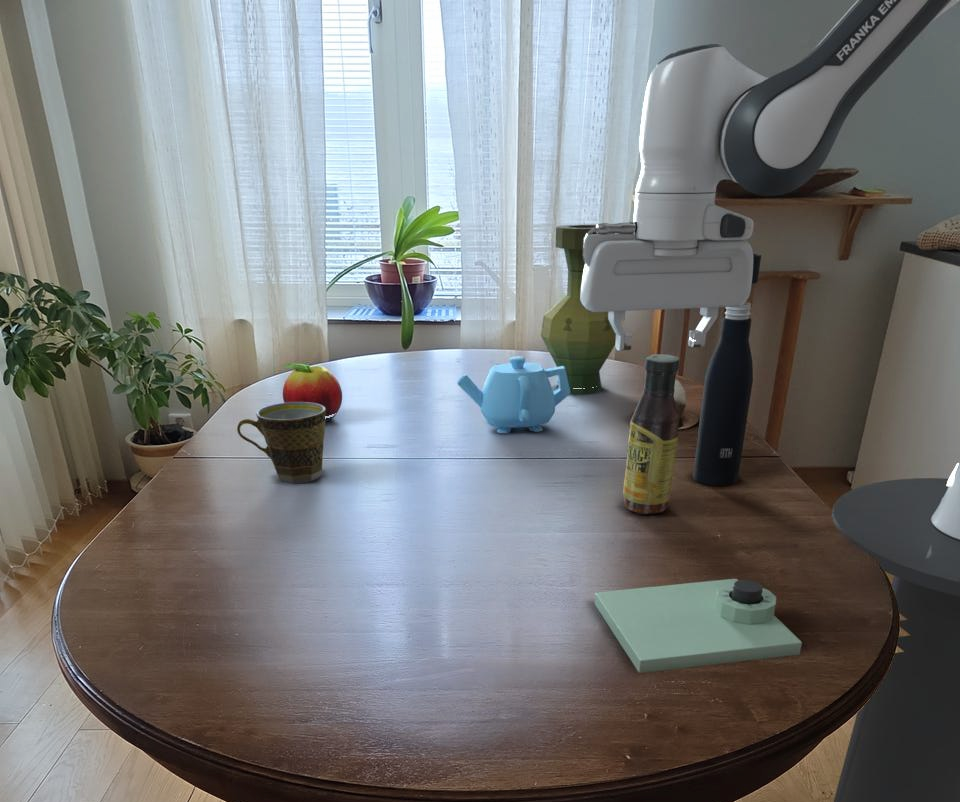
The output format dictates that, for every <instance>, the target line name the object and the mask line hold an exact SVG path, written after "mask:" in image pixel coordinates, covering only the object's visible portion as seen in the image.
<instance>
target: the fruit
mask: <svg viewBox="0 0 960 802" xmlns="http://www.w3.org/2000/svg"><path fill="white" fill-rule="evenodd" d="M283 368H285V369H286V368H287V369H288V368H291V369H293V370H292V372H290V374H289V375H288V377H287V378H286V380H285V381H284V384H283V388H282V399H283V403H289V402H310V403H316V404H320V405H322V406H324V407H325V410H326V416H329V415H332V414H335V413H337V412H339V410H340V408H341V406H342V402H343V391H342V387H341V384H340V383H339V380H338V379H337V378H336V376H335V375H334V374H333V373H332V372H331V371H330V370H329V369H327V367H324V366H320V365H319V366H318V365H316V366H314V365H313V366H310V364H303V363H293V362H291V363H288V364H285V365H283ZM337 414H338V413H337ZM334 418H335V416H333V417H330V418H326V419H325V423H326V422H329V421H330V420H332V419H334Z"/></svg>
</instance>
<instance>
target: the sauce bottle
mask: <svg viewBox="0 0 960 802" xmlns="http://www.w3.org/2000/svg"><path fill="white" fill-rule="evenodd" d="M679 368H680V358H679V357H678V356H675V355H672V354H661V353H660V354H659V353H658V354H651V355H648V356H647V357H646V358H645V364H644V370H645V378H644V386H643V389H642V390H643V392H642V394H641V396H640V399H639V401H638V403H637V405H636V408H635V410H634V411H635V412H634V411H633V412H634V414H633V417H632V419H630V423H629V432H628V443H627V451H626V452H627V454H626V460H625V472H624V480H623V489H622V490H623V492H622V493H623V494H622V495H623V506H624V508H625V509H626V510H628V511H631V512H633V513H636V514H638V515H654V514H660V513H662V512H665V511H666V510H667V509H668V507H669V500H670V498H671V491H672V484H673V478H674V469H675V462H676V455H677V448H678V440H679V429H678V427H679V420H680V412H679V409H678V406H677V404H676V402H675V400H674V391H675V389H674V386H675V379H677V378H676V377H677V373H678V370H679Z"/></svg>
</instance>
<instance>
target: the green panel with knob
mask: <svg viewBox="0 0 960 802" xmlns="http://www.w3.org/2000/svg"><path fill="white" fill-rule="evenodd" d="M736 581H739V579H737V578H728V579H727V578H726V579H715V580H706V581H697V582H696V581H695V582H687V583H677V584H667V585H658V586H648V587H639V588H638V587H635V588H628V589H618V590H607V591H606V590H605V591H599V592H598V591H596V592H594V601H593V603H594V606H595V607H596V609H597V610H598V612H599V613H600V615H601V616H602V618H603V620H604V621H605V623H606V624H607V626H608V627H609V629H610V630H611V632H612V633H613V635H614V637H615V638H616V640H617V641H618V643H619V645H620V646H621V647H622V649H623V650H624V652H625V654H626V655H627V657H628V658H629V660H630V661H631V663H632V664H633V666H634V667H635V669H636V671H637V672H638V673H639V674H645V673H653V672H663V671H672V670H680V669H689V668H696V667H706V666H713V665H714V666H715V665H724V664H731V663H732V664H733V663H741V662H748V661H749V662H750V661H759V660H765V659H766V660H767V659H774V658H775V659H776V658H782V657H783V658H784V657H792V656H800V654H801V649H802V645H803V642H802V641H801V640H800V638H798V637H797V636H796V635H795V634H794V633H793V632H792V631H791V630H790V628H788V627H787V626H786V625H785V624H784V623H783V622H782V621H781V620H780V619H778V618H777V616H775V610H776V605H777V596H776V595H775V594H774V593H772V592H771V590H770V589H767V588H764V587H763V590H762V596H761V601H760V603H759V604H752V605H748V604H741V603H738V602H736V601H733V600H732V591H733V585H734V583H735V582H736Z"/></svg>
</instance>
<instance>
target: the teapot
mask: <svg viewBox="0 0 960 802" xmlns="http://www.w3.org/2000/svg"><path fill="white" fill-rule="evenodd" d="M556 376H557V382H558V384H559V388H558V389H555V390H553V387H552V384H551V381H550V379H549V378H551V377H556ZM456 384H457V386H459V387H460V389H462V391H463V392H464V393H465V394H467V396H468V397H469V398H470V399H471V400H472V401H473V402H474V403H476V405H477V406H478V407H479V410H480V413H481V414H482V416H483V418H484V420H485V421H486V422H487V423H488V424H490V425H491V426H494V427H498V428H497V431H496V432H497V433H499V434H508V433H509V434H510V433H511V431H512V428H526V427H528V430H529V432H542V431H543V427H542V426H543V425H546V424H548V423H549V422H550V421H551V419H552V417H554V414H555V412H556V406H558V405H559V404H560V403H561V402H562V401H563V400H565V399H566V398H567V397H569V396H570V395H571V392H570V388H569V383H568V379H567V374H566V370H565V367H564V366H560V367H557V366H554V367H547V368H544V367H543V366H542V365H540V364H539V363H535V362H526V357H524V356H511V357H510V358H509V362H507V363H498V364H495V365H493V366H492V367H491V369H490V370H489V372H488V375H487V377H486V379H485V382H484V384H483V386H482V389H480V388H479V387H478V386H477V385H476V384H475V382H474V381H473V380H472V379H471V378H470V377H469V376H468V374H464V375H462V376H461V377H460V378H459V379H458V380H457V382H456Z"/></svg>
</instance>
